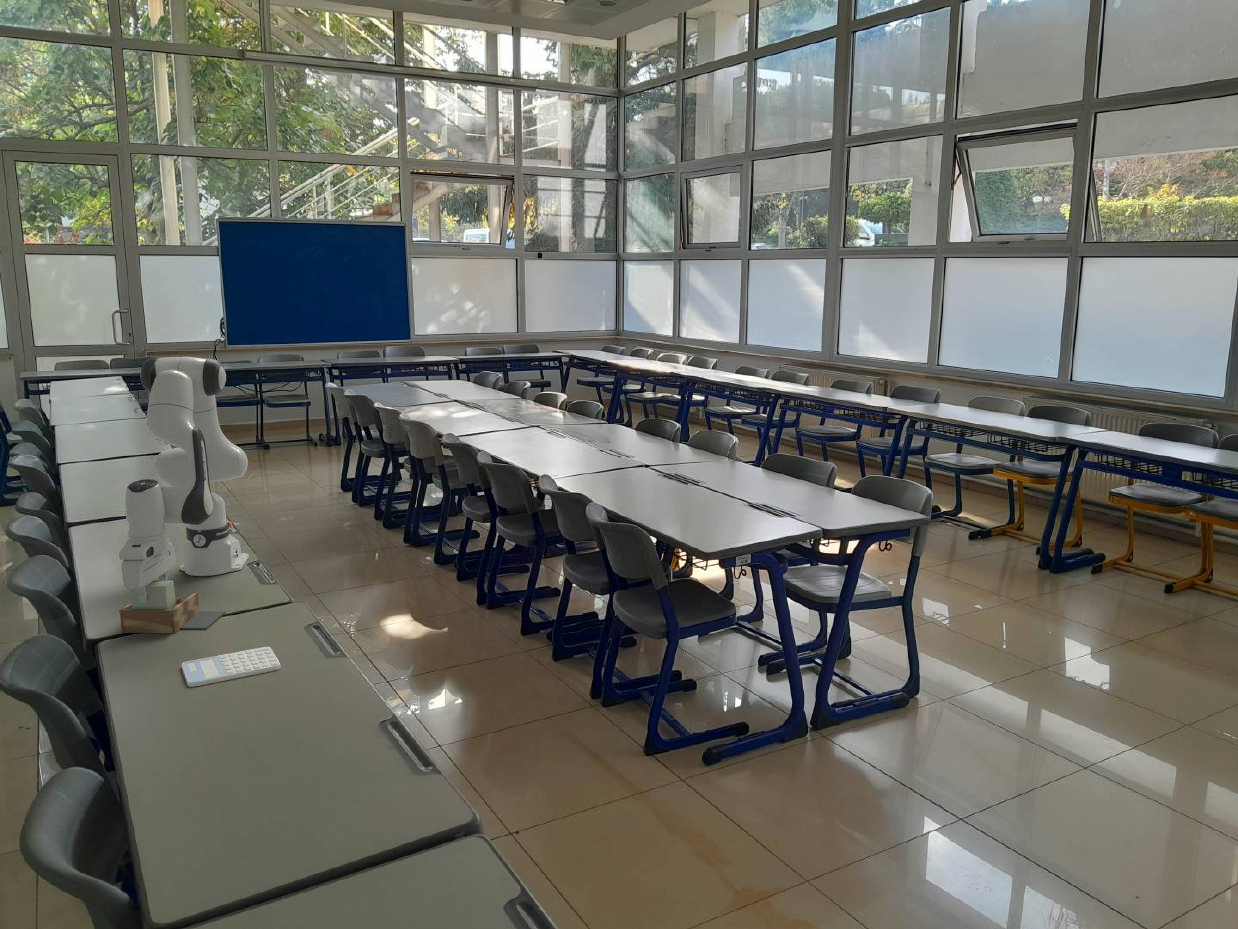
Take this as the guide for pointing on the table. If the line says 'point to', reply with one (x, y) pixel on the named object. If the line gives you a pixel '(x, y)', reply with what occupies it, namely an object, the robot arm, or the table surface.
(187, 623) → the mat
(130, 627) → the rack
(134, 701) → the table surface
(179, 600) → the offcut upper
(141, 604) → the sage green thick block
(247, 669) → the calculator
